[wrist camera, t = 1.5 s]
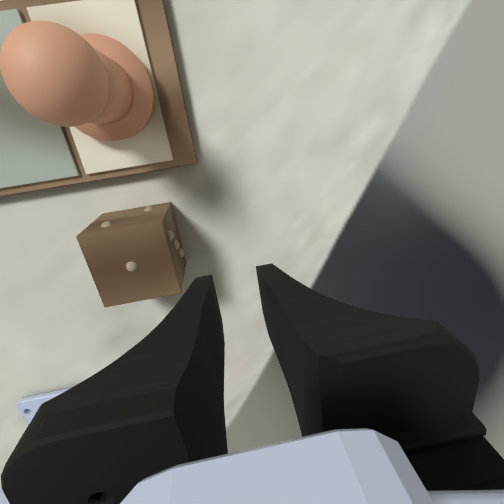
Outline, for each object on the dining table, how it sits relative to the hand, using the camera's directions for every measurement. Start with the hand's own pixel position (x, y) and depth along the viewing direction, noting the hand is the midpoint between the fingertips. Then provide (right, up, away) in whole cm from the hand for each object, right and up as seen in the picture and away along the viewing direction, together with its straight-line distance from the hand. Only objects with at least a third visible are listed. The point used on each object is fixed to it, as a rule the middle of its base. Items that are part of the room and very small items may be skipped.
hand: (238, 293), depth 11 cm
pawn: (-6, +9, +3) cm, 12 cm away
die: (-6, +2, +7) cm, 10 cm away
